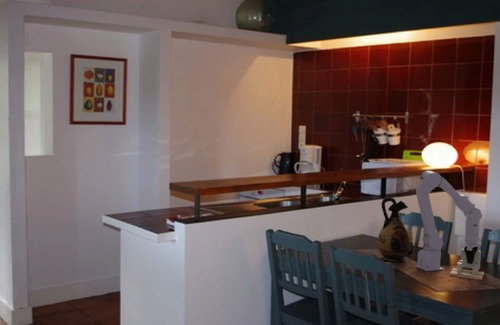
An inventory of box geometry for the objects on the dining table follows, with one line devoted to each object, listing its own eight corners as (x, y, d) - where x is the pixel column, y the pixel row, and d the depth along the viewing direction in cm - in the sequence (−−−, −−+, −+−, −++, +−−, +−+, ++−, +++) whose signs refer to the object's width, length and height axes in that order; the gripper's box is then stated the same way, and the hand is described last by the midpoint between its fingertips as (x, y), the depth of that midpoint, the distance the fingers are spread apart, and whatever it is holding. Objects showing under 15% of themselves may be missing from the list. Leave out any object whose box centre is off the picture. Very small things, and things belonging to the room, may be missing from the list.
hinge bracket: (481, 279, 246) (482, 268, 246) (449, 275, 252) (450, 264, 252) (484, 274, 255) (484, 262, 255) (453, 270, 261) (453, 259, 261)
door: (479, 269, 261) (480, 251, 260) (460, 266, 264) (461, 249, 264) (480, 267, 264) (481, 250, 263) (461, 265, 267) (462, 248, 267)
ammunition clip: (393, 253, 291) (394, 229, 290) (391, 252, 293) (392, 228, 292) (413, 252, 293) (414, 229, 292) (411, 251, 295) (412, 228, 294)
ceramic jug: (406, 256, 285) (409, 195, 283) (412, 264, 270) (415, 200, 267) (371, 254, 287) (373, 194, 284) (375, 262, 272) (377, 199, 269)
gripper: (479, 237, 254) (478, 267, 255) (483, 231, 267) (481, 260, 268) (462, 235, 257) (461, 265, 258) (466, 229, 270) (465, 258, 271)
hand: (470, 263), depth 264 cm, fingers closed on door, 2 cm apart
